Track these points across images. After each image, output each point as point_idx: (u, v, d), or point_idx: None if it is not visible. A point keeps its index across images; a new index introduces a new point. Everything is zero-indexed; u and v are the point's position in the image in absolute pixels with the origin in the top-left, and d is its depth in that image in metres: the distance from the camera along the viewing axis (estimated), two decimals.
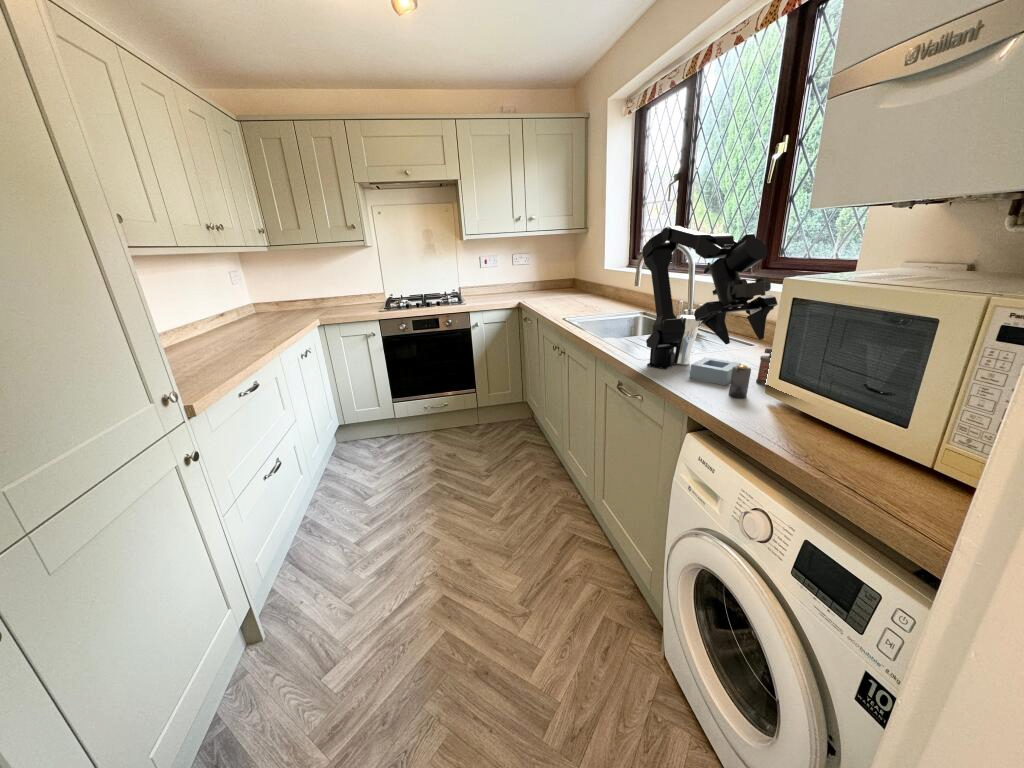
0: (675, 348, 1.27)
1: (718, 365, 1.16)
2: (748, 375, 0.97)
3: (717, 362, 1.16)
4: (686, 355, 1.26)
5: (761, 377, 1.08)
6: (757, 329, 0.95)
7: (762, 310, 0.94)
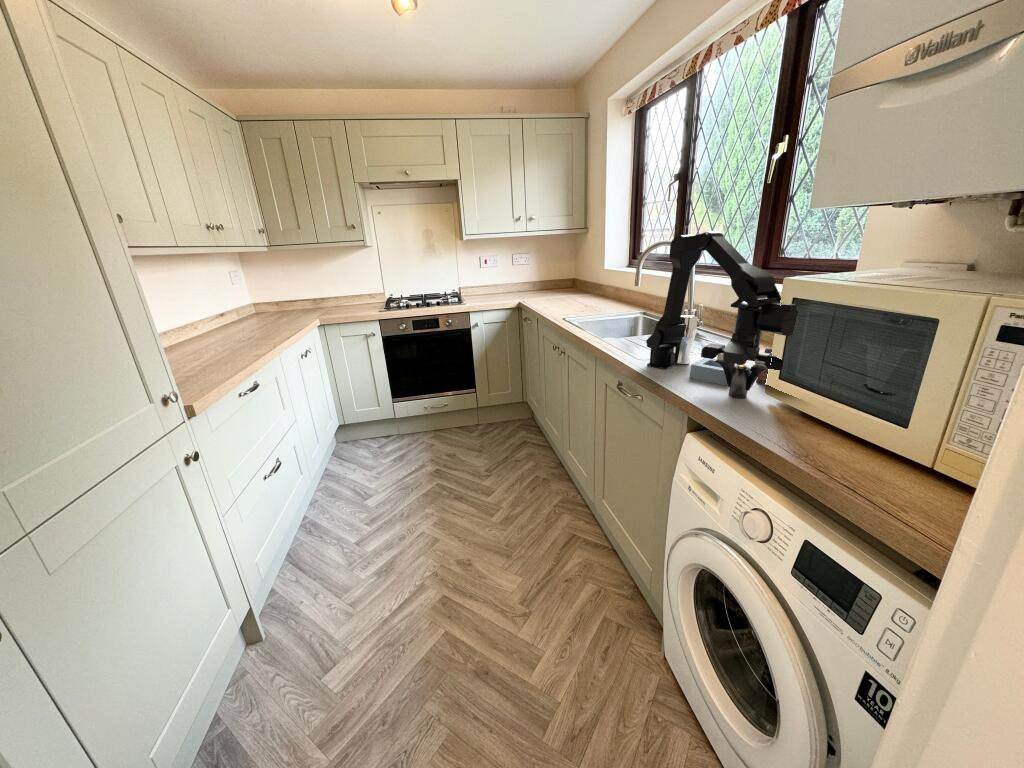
0: (674, 348, 1.27)
1: (718, 365, 1.16)
2: (748, 375, 0.97)
3: None
4: (686, 354, 1.26)
5: (761, 377, 1.08)
6: None
7: None
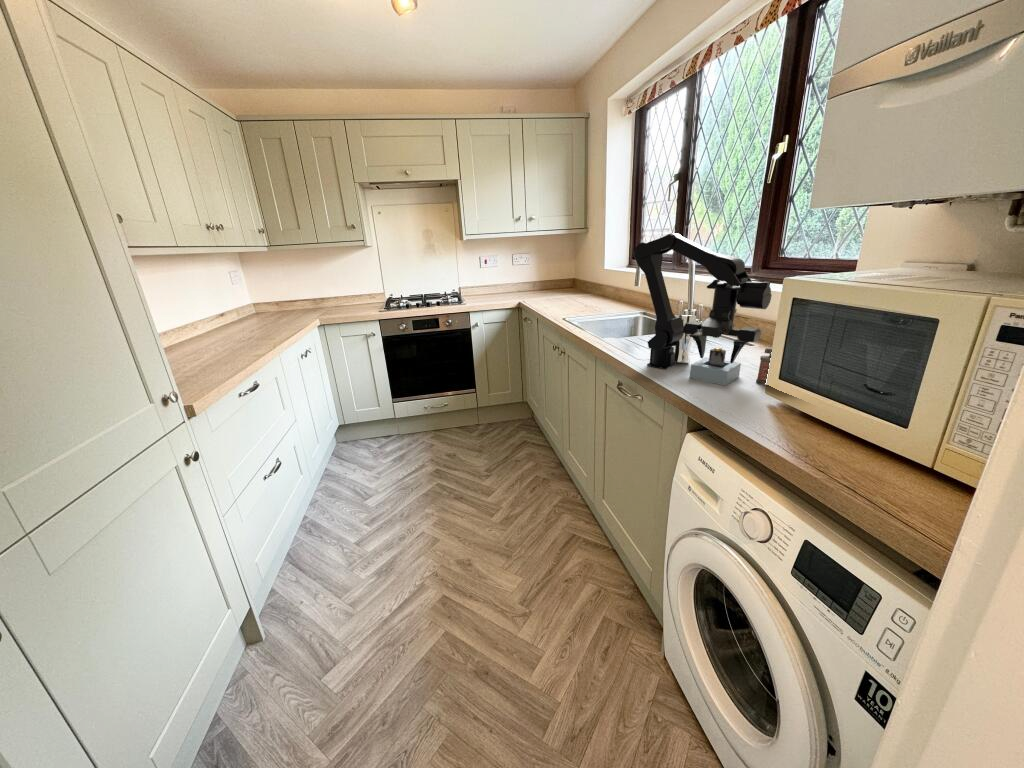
0: (674, 347, 1.27)
1: None
2: (723, 356, 1.11)
3: None
4: (686, 353, 1.26)
5: (761, 377, 1.08)
6: None
7: None
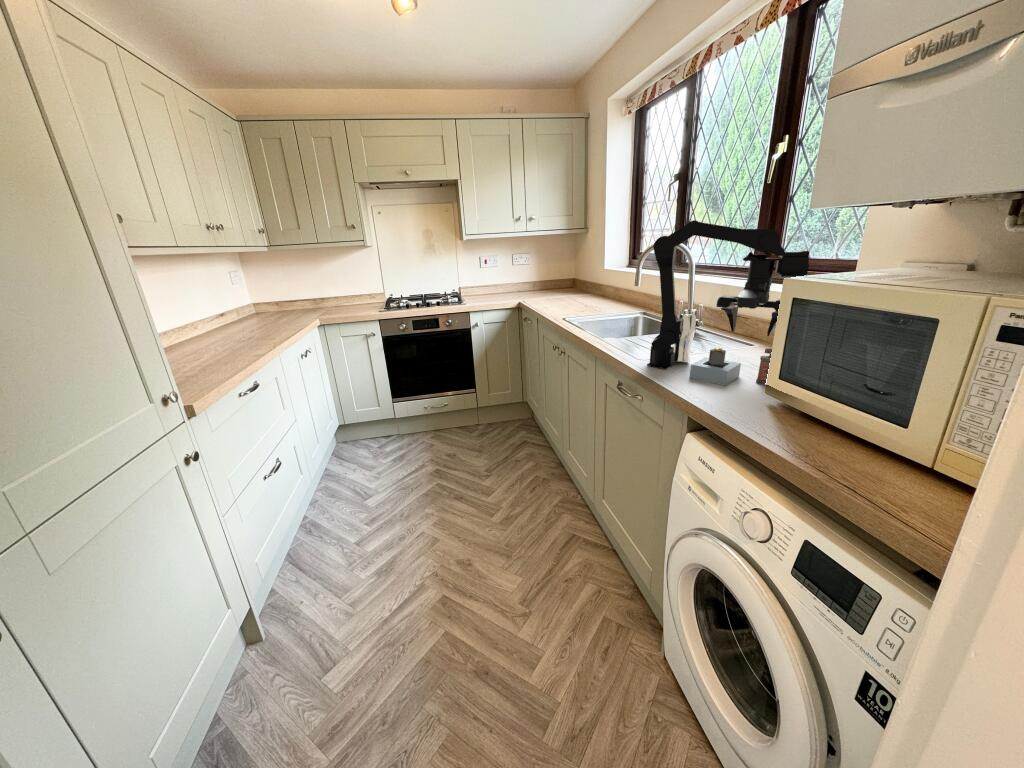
0: (674, 346, 1.27)
1: None
2: (723, 356, 1.11)
3: None
4: (686, 352, 1.26)
5: (761, 377, 1.08)
6: None
7: None
